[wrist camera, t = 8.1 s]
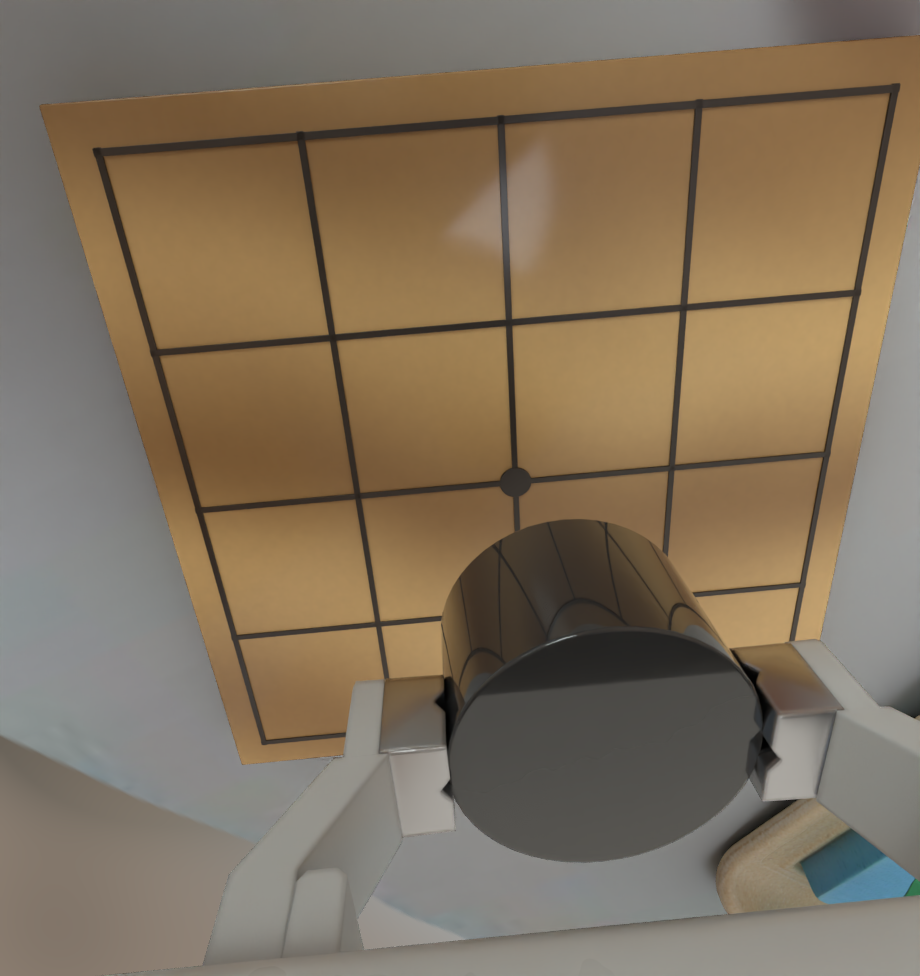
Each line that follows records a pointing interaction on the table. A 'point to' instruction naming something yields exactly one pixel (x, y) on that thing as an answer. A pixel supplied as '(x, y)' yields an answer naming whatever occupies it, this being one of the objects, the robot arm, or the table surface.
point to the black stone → (590, 696)
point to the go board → (493, 337)
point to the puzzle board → (807, 864)
